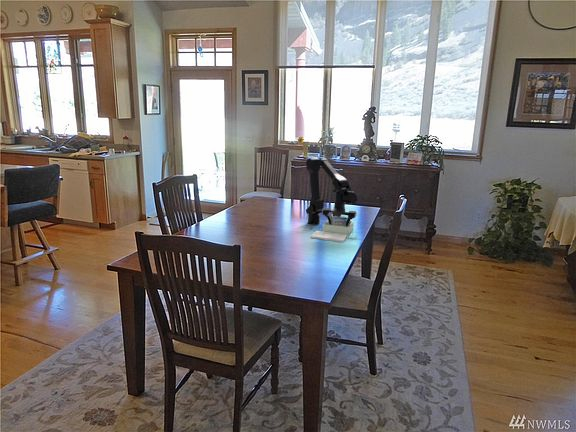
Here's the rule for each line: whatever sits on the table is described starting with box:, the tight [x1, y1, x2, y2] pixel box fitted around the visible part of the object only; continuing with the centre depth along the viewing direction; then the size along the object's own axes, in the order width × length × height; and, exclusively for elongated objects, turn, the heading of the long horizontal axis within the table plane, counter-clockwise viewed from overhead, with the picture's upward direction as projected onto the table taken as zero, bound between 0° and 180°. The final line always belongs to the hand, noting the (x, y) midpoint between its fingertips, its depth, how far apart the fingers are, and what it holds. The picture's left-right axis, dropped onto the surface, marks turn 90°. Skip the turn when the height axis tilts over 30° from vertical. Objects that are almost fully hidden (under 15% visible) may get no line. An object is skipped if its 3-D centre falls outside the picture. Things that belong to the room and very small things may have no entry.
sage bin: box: [322, 219, 355, 237], centre depth 234 cm, size 15×14×5 cm
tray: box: [310, 230, 349, 243], centre depth 224 cm, size 18×11×1 cm, turn 70°
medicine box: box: [331, 215, 348, 227], centre depth 234 cm, size 8×4×9 cm, turn 105°
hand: (338, 227), depth 235 cm, fingers closed on medicine box, 9 cm apart
